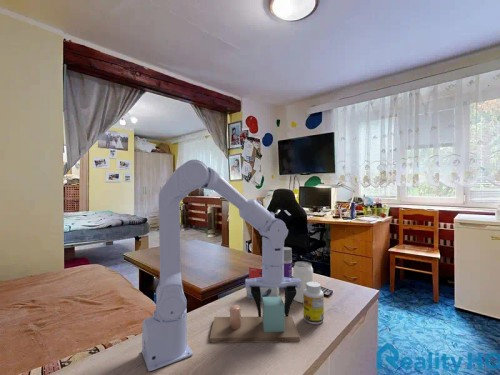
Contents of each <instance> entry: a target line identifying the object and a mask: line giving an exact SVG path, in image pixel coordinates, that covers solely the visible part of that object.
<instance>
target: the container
mask: <svg viewBox="0 0 500 375" xmlns="http://www.w3.org/2000/svg"><path fill="white" fill-rule="evenodd" d="M292 250H293V249H292V247H288V246H284V277H287V278H293V257H292V256H293V253H292V252H293V251H292ZM279 291H283V292H285V291H284V288H279Z"/></svg>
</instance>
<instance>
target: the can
mask: <svg viewBox="0 0 500 375" xmlns="http://www.w3.org/2000/svg"><path fill="white" fill-rule="evenodd" d="M312 265H313V264H312V263H311V262H310V261H309V262H308V261H300V260H299V261H296V262H294V266H293V267H292V278H299V279H300V280H301V288H297V287H296V296H295V297H294V299H293V301H295V302H297V303H300V304H304V290H305V289H306V283H307V282H314V268H313V266H312Z"/></svg>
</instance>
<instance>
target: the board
mask: <svg viewBox="0 0 500 375" xmlns="http://www.w3.org/2000/svg"><path fill="white" fill-rule="evenodd" d="M300 338H301V336H300V334H299V331H298V328H297V326H296V323H295V321H294V318H293V316H291V315H290V316H289V315H288V317H286V316H285V315H284V332H264V328H263V322H262V315H261V317H258V316H241V327H240V328H239V329H236V330H234V329H231V328H230V316H215V317H214V318H213V322H212V326H211V332H210V335H209V343H248V342H249V343H253V342H254V343H255V342H256V343H258V342H261V343H262V342H266V343H267V342H270V343H271V342H300V340H301V339H300Z"/></svg>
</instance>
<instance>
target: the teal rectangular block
mask: <svg viewBox="0 0 500 375" xmlns="http://www.w3.org/2000/svg"><path fill="white" fill-rule="evenodd" d="M261 302H262V305H261V316H262V322H263V328H264V332H284V316H285V313H284V305H285V302H284V301H283V298H282V296H279V297H262V300H261Z"/></svg>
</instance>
